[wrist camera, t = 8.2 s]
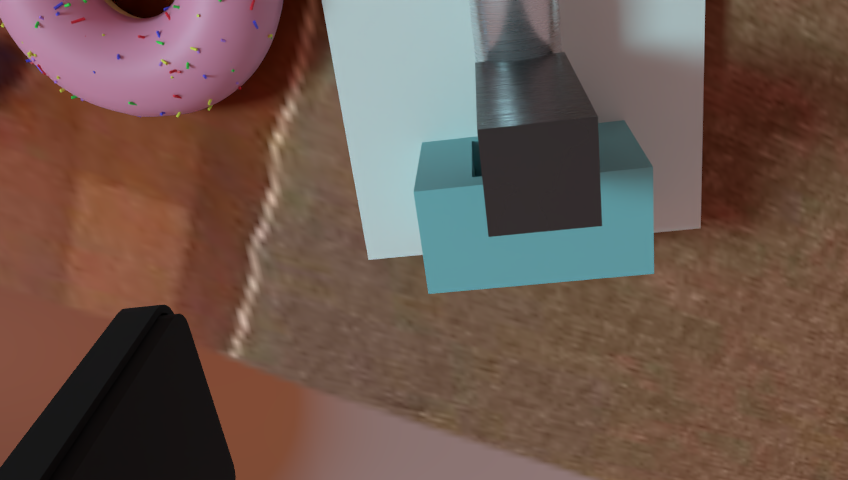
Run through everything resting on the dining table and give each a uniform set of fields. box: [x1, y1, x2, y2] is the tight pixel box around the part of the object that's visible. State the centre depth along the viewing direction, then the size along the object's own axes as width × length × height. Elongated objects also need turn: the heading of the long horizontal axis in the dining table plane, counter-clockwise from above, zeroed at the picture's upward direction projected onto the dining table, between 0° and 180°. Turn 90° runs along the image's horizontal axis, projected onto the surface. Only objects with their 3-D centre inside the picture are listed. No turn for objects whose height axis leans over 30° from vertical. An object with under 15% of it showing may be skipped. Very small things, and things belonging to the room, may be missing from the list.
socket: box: [414, 120, 654, 294], centre depth 29 cm, size 4×8×5 cm, turn 98°
